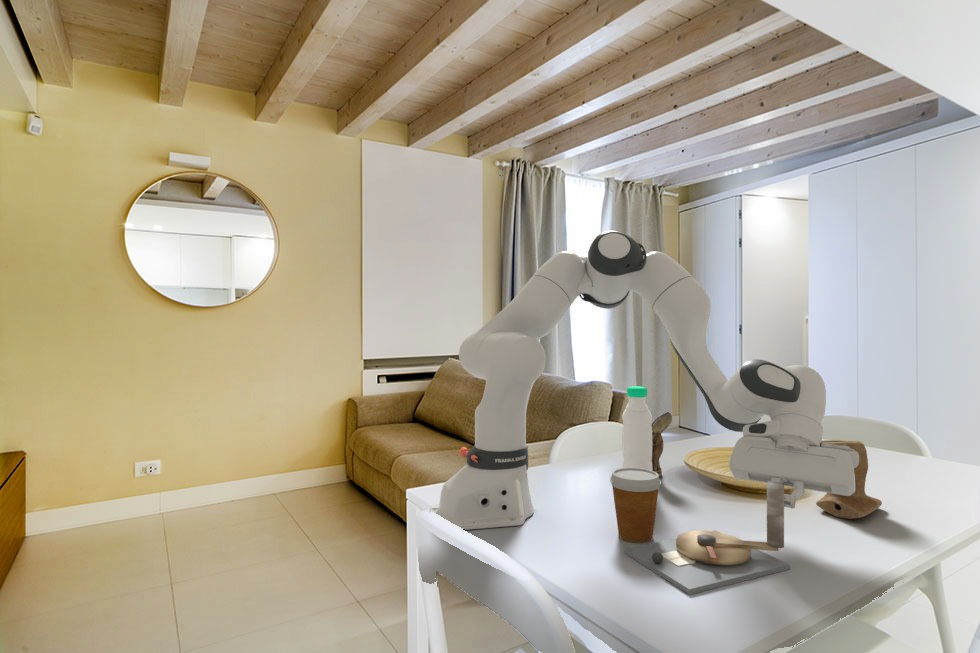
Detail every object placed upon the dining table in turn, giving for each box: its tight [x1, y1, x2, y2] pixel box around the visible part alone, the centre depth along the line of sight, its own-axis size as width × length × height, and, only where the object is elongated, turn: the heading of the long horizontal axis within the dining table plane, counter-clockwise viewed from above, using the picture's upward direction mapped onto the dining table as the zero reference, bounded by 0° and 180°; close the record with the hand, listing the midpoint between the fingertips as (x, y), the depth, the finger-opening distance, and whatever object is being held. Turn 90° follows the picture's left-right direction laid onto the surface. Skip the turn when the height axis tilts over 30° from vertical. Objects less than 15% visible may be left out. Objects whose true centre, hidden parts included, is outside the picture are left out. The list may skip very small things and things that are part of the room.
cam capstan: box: [675, 482, 785, 565], centre depth 94 cm, size 17×13×12 cm
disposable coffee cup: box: [609, 467, 662, 543], centre depth 105 cm, size 10×10×12 cm
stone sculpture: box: [651, 411, 673, 478], centre depth 145 cm, size 9×14×18 cm, turn 27°
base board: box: [624, 529, 790, 595], centre depth 94 cm, size 21×16×3 cm
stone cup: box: [815, 439, 883, 519], centre depth 119 cm, size 15×12×15 cm
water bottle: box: [621, 385, 653, 471], centre depth 133 cm, size 7×7×25 cm
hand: (784, 505), depth 97 cm, fingers closed
